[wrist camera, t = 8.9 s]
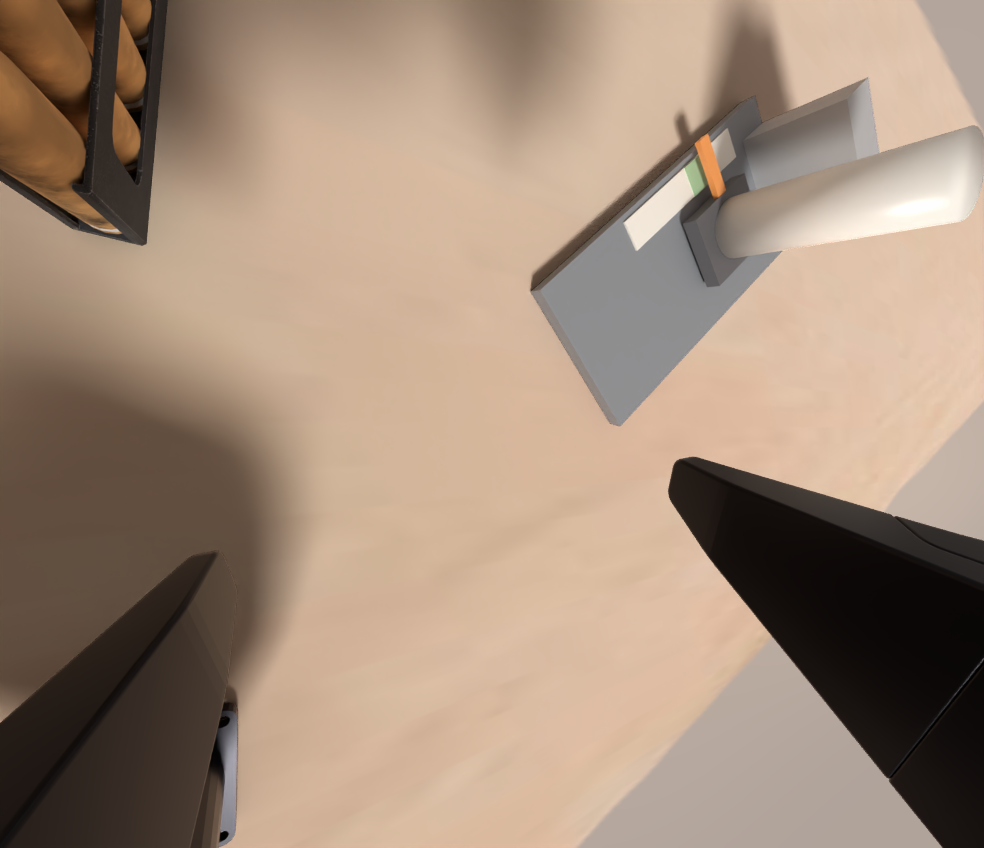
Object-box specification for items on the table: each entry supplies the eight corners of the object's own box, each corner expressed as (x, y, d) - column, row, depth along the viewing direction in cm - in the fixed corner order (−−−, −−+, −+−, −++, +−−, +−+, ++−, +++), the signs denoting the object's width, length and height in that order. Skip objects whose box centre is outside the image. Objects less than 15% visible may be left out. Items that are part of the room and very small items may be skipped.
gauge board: (610, 423, 25) (698, 446, 20) (530, 291, 21) (616, 278, 16) (780, 241, 29) (889, 222, 24) (741, 102, 25) (863, 42, 20)
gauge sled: (707, 287, 25) (940, 262, 16) (661, 169, 21) (921, 61, 13) (750, 241, 26) (991, 195, 17) (713, 123, 23) (985, -6, 14)
